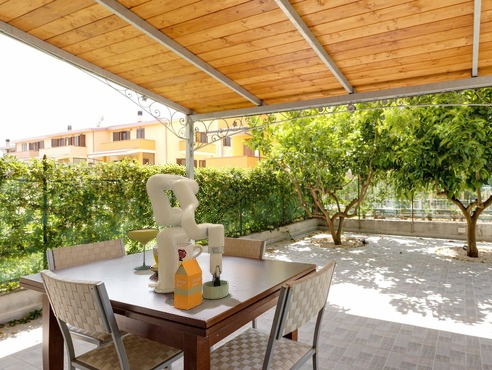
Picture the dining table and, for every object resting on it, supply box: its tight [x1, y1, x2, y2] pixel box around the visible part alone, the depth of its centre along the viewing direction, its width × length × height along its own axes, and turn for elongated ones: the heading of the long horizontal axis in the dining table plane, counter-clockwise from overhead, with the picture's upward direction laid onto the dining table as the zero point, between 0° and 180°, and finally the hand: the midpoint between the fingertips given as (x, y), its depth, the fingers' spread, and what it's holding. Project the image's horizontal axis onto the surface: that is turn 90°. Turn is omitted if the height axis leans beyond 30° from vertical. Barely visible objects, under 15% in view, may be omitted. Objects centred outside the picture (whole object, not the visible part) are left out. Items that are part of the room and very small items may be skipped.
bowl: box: [202, 279, 230, 300], centre depth 155 cm, size 12×12×6 cm
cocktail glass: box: [127, 227, 161, 271], centre depth 208 cm, size 18×18×25 cm
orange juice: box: [173, 258, 203, 310], centre depth 142 cm, size 8×9×20 cm
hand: (216, 287), depth 155 cm, fingers closed on vial, 3 cm apart
